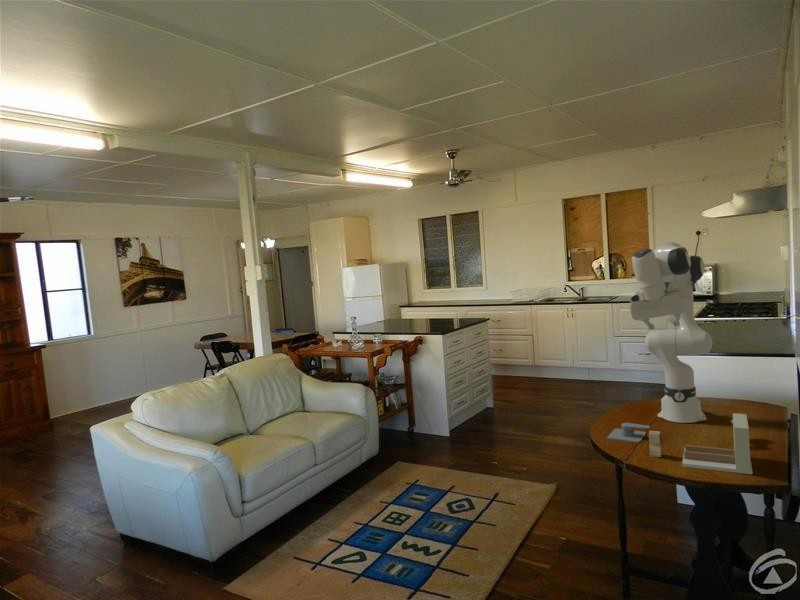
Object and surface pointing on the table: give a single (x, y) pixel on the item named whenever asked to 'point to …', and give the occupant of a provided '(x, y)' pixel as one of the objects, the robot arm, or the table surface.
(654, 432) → the beige wooden block
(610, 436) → the shower valve
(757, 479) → the table surface
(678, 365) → the robot arm
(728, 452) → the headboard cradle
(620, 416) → the table surface
